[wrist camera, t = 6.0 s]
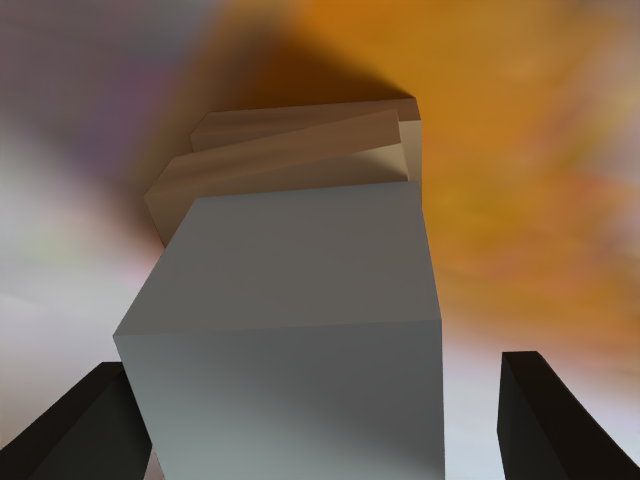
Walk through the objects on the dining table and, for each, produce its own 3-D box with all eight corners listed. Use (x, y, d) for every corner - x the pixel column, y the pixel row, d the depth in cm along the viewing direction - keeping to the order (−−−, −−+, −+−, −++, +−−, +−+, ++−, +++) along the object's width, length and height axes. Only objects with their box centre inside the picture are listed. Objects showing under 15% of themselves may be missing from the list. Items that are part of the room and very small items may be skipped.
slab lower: (416, 268, 20) (422, 313, 17) (243, 275, 20) (228, 318, 18) (414, 92, 17) (421, 120, 15) (212, 107, 17) (189, 135, 15)
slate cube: (424, 356, 15) (446, 536, 11) (237, 364, 16) (187, 537, 11) (416, 180, 13) (441, 319, 8) (196, 197, 13) (111, 335, 9)
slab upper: (432, 301, 17) (442, 358, 15) (242, 331, 18) (225, 387, 16) (396, 108, 14) (401, 143, 12) (174, 156, 16) (142, 196, 13)
